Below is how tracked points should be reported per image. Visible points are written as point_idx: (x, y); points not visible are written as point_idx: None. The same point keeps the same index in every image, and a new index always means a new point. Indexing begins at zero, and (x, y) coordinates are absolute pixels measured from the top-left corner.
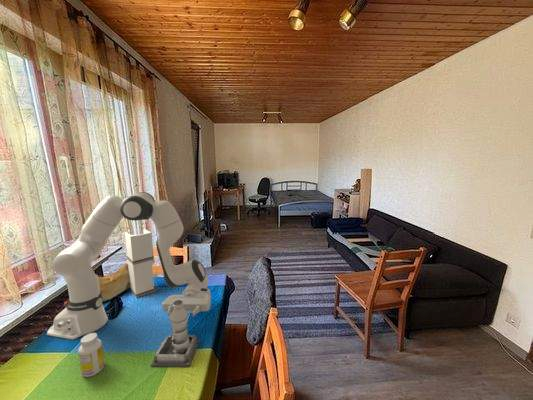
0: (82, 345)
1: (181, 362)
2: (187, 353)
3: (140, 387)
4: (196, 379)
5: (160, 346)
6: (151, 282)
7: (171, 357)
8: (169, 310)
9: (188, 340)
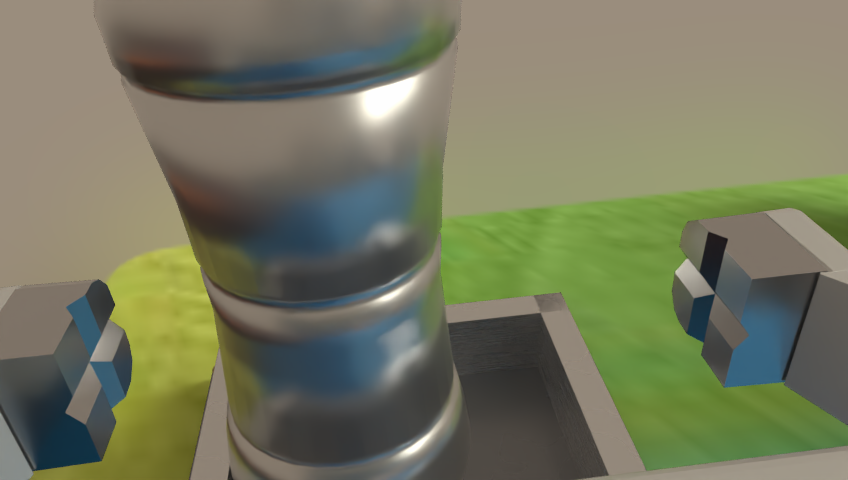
0: None
1: None
2: None
3: (511, 238)
4: (138, 316)
5: (602, 385)
6: None
7: None
8: (817, 254)
9: (227, 406)
